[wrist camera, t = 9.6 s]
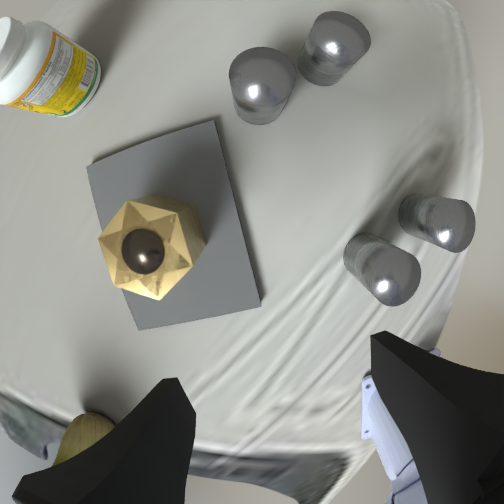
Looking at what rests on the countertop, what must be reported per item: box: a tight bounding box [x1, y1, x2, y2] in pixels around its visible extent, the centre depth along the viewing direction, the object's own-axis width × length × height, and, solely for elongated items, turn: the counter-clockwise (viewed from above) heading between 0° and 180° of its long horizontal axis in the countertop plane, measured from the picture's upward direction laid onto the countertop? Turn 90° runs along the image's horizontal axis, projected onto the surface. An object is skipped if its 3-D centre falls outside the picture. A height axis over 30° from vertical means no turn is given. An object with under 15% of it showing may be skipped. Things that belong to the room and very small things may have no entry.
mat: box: [86, 120, 261, 330], centre depth 17 cm, size 12×9×1 cm
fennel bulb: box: [52, 412, 115, 466], centre depth 16 cm, size 6×5×12 cm
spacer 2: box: [298, 11, 371, 86], centre depth 12 cm, size 3×3×5 cm
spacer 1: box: [229, 47, 296, 125], centre depth 13 cm, size 3×3×5 cm
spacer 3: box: [343, 233, 421, 306], centre depth 16 cm, size 3×3×5 cm
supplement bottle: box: [0, 16, 101, 117], centre depth 10 cm, size 5×5×10 cm
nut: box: [98, 195, 207, 300], centre depth 15 cm, size 5×4×4 cm
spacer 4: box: [399, 193, 475, 253], centre depth 15 cm, size 3×3×5 cm
